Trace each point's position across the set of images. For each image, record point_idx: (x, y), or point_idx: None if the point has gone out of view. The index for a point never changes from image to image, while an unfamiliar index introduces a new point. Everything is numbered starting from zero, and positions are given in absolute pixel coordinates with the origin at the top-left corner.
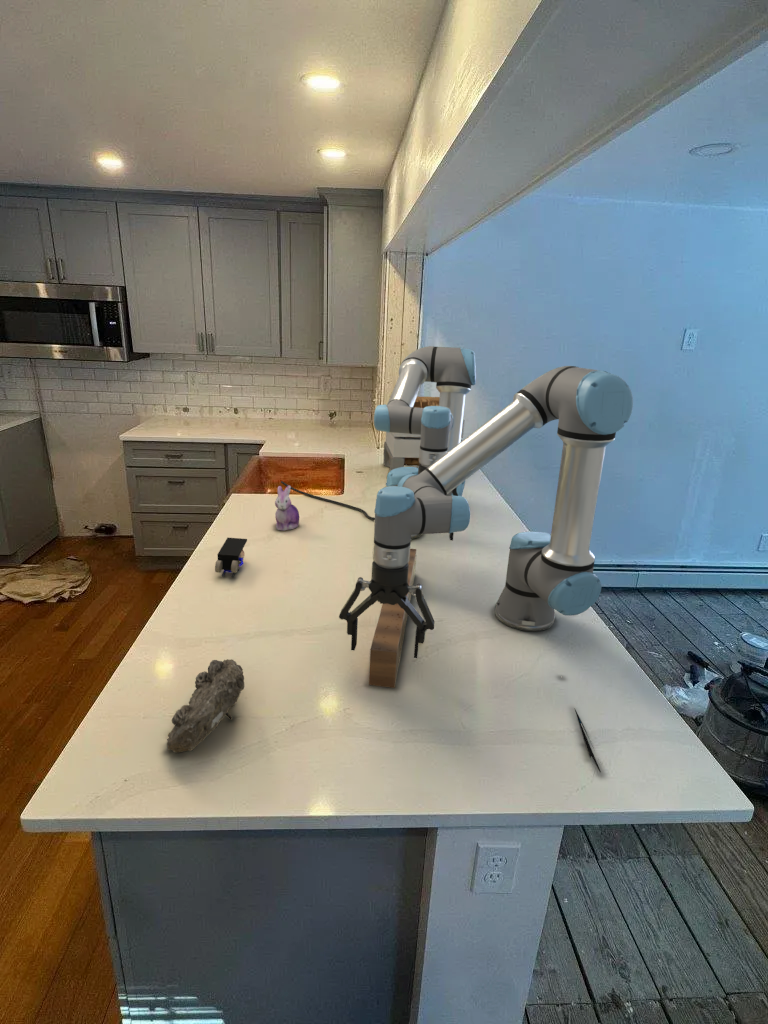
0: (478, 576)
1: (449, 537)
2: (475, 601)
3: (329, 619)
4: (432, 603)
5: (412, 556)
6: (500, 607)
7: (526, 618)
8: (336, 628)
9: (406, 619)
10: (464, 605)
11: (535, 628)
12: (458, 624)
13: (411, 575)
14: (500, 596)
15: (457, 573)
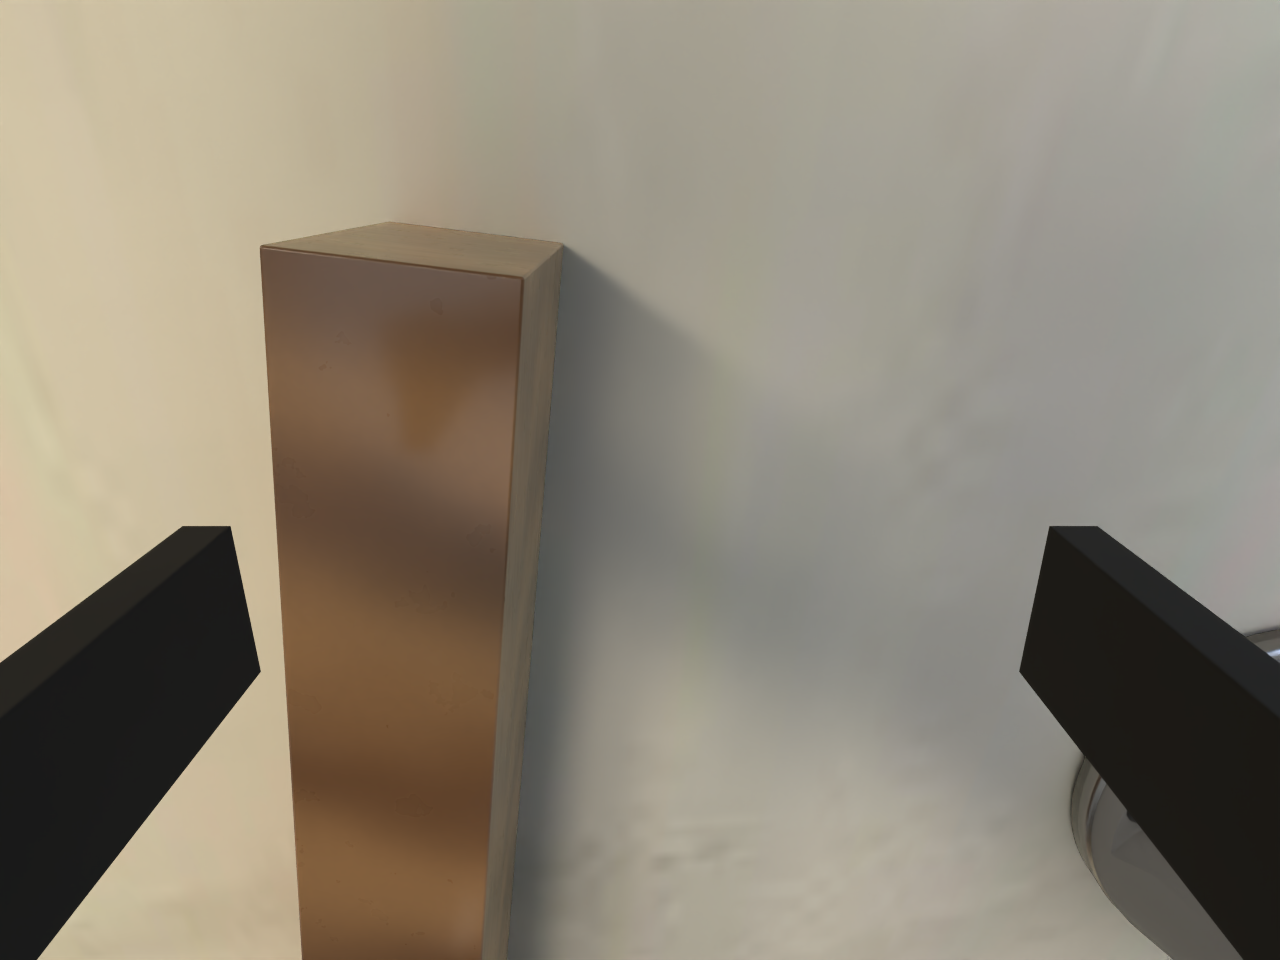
0: (1190, 194)
1: (1043, 563)
2: (1000, 632)
3: None
4: (685, 679)
5: (478, 517)
6: (1125, 883)
7: None
8: (143, 945)
9: (508, 910)
10: (904, 687)
11: None
12: (813, 875)
13: (486, 890)
14: None
15: (996, 142)
